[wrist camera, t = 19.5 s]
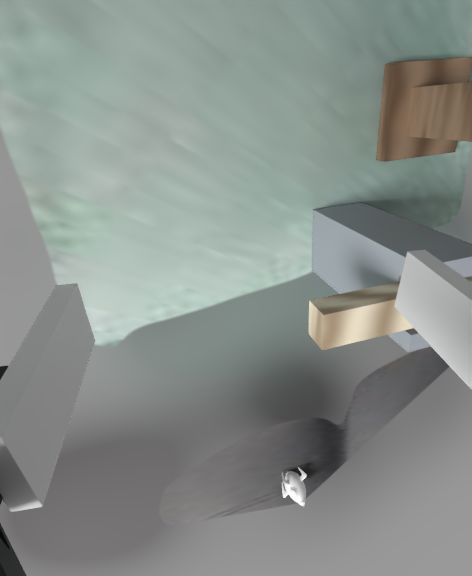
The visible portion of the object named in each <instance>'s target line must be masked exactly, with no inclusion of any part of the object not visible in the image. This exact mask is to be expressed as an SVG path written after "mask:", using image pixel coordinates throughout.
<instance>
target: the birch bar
mask: <svg viewBox="0 0 472 576" xmlns="http://www.w3.org/2000/svg"><path fill="white" fill-rule="evenodd" d="M465 278H466V279H467V280H469V281H470V282H471V283H472V276H469V277H465ZM399 284H400V281H399V282H394V283H390V284H385V285H380V286H375V287H371V288H366V289H361V290H356V291H352V292H347V293H342V294H337V295H333V296H328V297H323V298H318V299H314V300H310V301H309V335H310V336H311V337H312V338H313V340H314V341H315V342H316V343H317V344H318V346H319V347H320V348H321V349H322V350H325V349H330V348H333V347H338V346H342V345H346V344H350V343H354V342H358V341H363V340H366V339H371V338H375V337H379V336H383V335H387V334H392V333H396V332H400V331H404V330H408V329H412V328H414V327H413V326H412V325H411V324H410V323H409V322H408V321H407V320H406V319H405V318H404V317H403V316H402V315H401V314H400V312H399V311H398V310H397V309H396V308H395V307H394V305H395V301H396V297H397V292H398V288H399Z"/></svg>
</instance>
